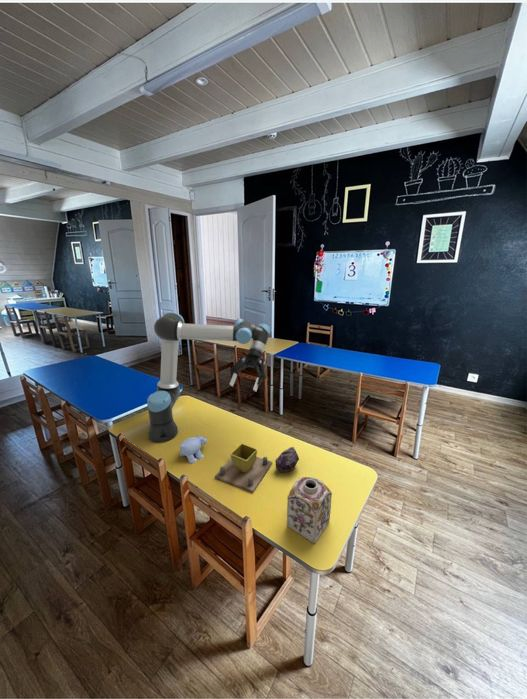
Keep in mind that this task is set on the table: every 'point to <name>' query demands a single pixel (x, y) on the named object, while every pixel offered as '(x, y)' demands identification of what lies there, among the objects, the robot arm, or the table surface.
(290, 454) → the rock
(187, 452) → the hippopotamus toy
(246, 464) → the flower pot
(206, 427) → the table surface
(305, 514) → the decorative jar
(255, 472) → the standoff plate
